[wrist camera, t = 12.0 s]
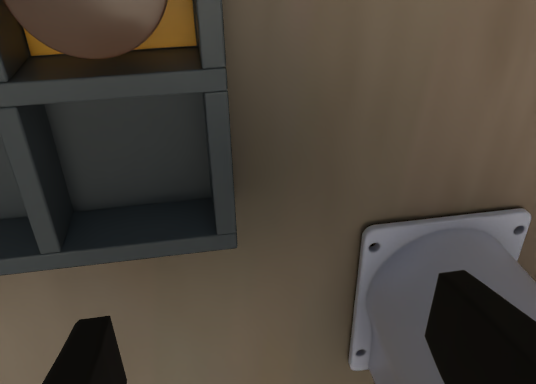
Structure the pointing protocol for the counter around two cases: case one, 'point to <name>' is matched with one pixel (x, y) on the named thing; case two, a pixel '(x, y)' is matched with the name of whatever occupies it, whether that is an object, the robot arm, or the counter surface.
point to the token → (89, 24)
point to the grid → (116, 147)
